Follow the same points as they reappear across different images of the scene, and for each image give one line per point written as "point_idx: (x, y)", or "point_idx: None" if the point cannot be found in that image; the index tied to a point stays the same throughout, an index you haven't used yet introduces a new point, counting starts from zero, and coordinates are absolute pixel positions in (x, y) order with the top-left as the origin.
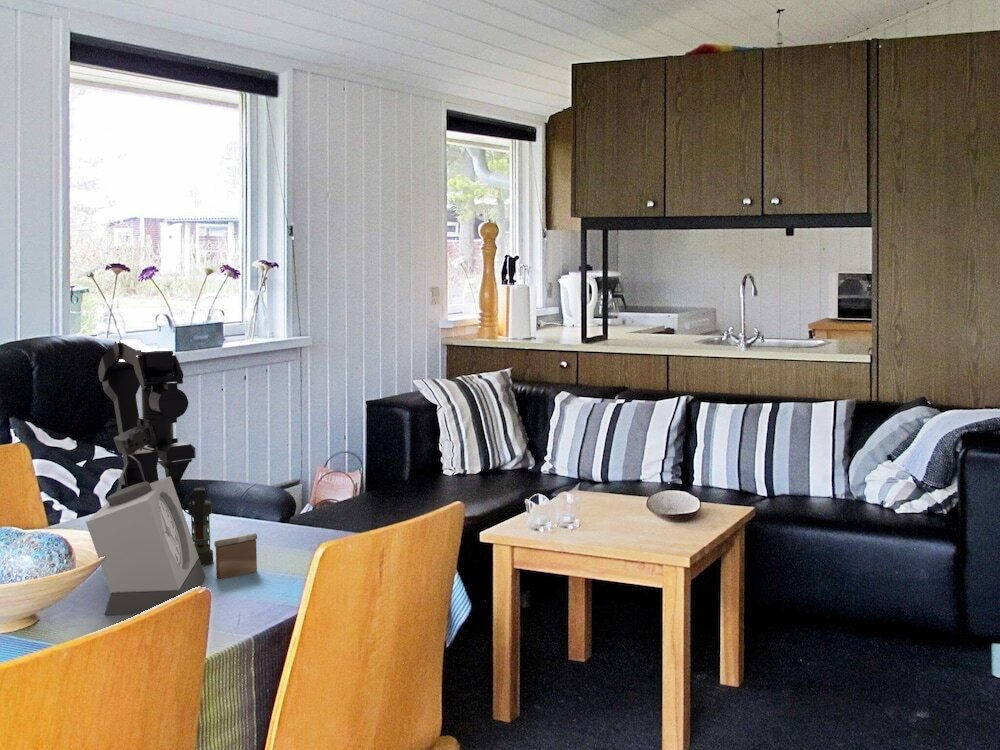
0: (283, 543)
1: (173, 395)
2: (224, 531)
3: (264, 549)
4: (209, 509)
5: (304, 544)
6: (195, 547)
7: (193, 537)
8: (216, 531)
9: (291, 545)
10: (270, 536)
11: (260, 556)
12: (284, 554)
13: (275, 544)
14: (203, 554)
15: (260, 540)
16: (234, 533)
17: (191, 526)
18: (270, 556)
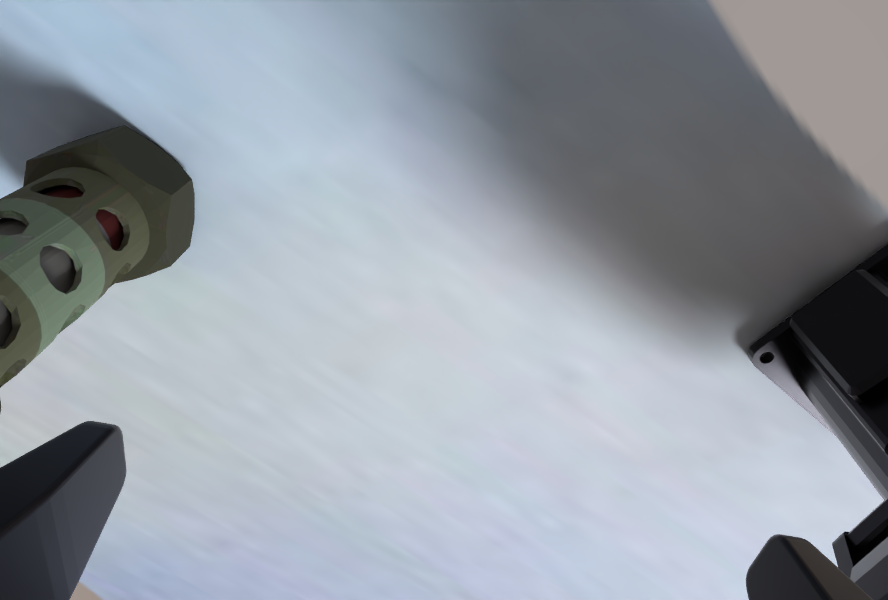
0: (192, 570)
1: None
2: (557, 586)
3: (159, 489)
4: None
5: (119, 590)
6: (44, 180)
7: (11, 203)
8: (590, 575)
9: (140, 565)
10: None
11: (56, 415)
12: None
13: (201, 550)
14: (25, 184)
15: (305, 562)
16: (493, 584)
17: (3, 254)
18: (27, 434)
